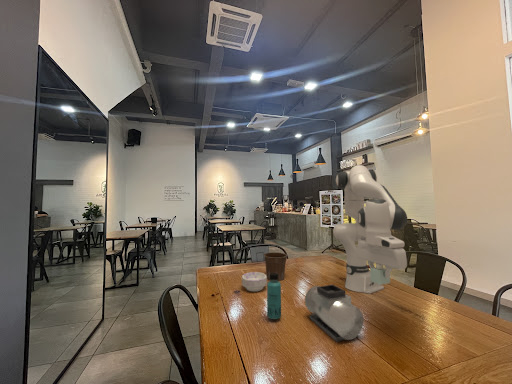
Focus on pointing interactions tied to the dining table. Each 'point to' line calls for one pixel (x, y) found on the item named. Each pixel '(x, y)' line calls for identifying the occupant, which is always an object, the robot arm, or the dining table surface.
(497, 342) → the dining table surface
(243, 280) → the paper bowls
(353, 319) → the motor
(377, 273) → the block
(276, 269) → the plant pot
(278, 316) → the beverage bottle
